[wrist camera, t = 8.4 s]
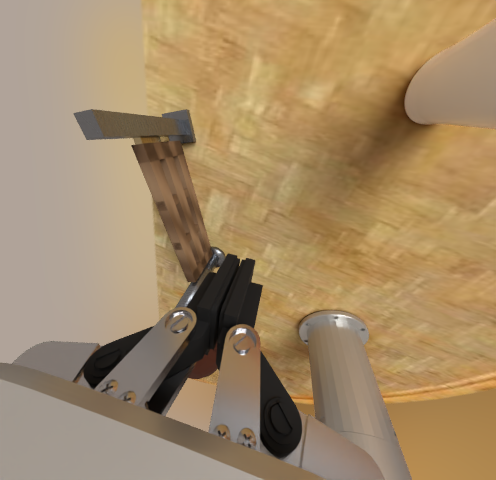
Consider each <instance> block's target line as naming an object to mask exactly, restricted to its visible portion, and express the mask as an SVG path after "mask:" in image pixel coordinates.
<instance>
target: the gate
mask: <svg viewBox="0 0 496 480" xmlns="http://www.w3.org/2000/svg"><path fill="white" fill-rule="evenodd" d="M132 148H133V150H134V153H135V155H136V158H137V160H138V163H139V165H140V167H141V170H142V172H143V175H144V177H145V179H146V182H147V184H148V187H149V189H150V192H151V194H152V197H153V199H154V201H155V204H156V206H157V209H158V211H159V214H160V216H161V218H162V221H163V223H164V226H165V228H166V231H167V233H168V235H169V238H170V240H171V243H172V245H173V247H174V250H175V252H176V255H177V257H178V260H179V262H180V264H181V267H182V269H183V272H184V274H185V277H186V279H187V281H188V282H196V281H197V279H198V278H199V276H200V274H201V273H202V271H203V270H204V268H205V266H206V265H207V263H208V261H209V260H210V258H211V256H212V255H213V253H212V250H211V246H210V243H209V239H208V236H207V232H206V229H205V225H204V222H203V218H202V215H201V211H200V208H199V205H198V201H197V198H196V194H195V191H194V187H193V184H192V180H191V177H190V173H189V170H188V166H187V163H186V159H185V156H184V152H183V149H182V145H181V142H180V140H179V141H167V142H155V143H143V144H137V145H132Z"/></svg>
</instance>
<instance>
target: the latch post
mask: <svg viewBox="0 0 496 480" xmlns="http://www.w3.org/2000/svg"><path fill="white" fill-rule="evenodd" d="M74 115H75V117H76V119H77V122H78V124H79V125H80V127H81V129H82V131H83V133H84V135H85V137H86V139H87V140H95V139H118V138H133V139H134V142H135V144H136V145H137V144H143V143H155V142H161V140H160V137H168V136H169V140H170V141H179V140H180V142H181V143H188V142H195V141H196V138H195V134H194V130H193V126H192V121H191V117H190V113H189V110H181V111H176V112H171V113H165V114H162V116H163V117H154V116H146V115H137V114H128V113H119V112H110V111H102V110H93V109H91V110H86V111H82V112H77V113H74Z"/></svg>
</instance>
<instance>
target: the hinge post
mask: <svg viewBox="0 0 496 480" xmlns="http://www.w3.org/2000/svg"><path fill="white" fill-rule="evenodd" d="M211 250H212V253H213V255H212V256H211V258H210V260H209V261H208V263H207V265H206V266H205V268H204V270H203V271H202V273H201V274H200V276H199V278H198V279H197V281H196V282H191V284H190V285H189V287H188V288H187V290H186V291H185V293H184V295H183V296H182V298H181V299H180V301H179V302H178V304H177V306H176V307H175V308H179V307H186V306H187V305H188V303H189V302H190V300H191V299H192V297H193V296H194V294H195V293H196V291H197V289H198V288H199V286H200V285H201V283H202V282H203V280H204V279H205V277H206V276H207V274H208V273H209V272H213V270H214V269H215V267H220V266H221V264H222V263H223V261H224V259H225V254H224V253H223V251H222V250H220V249H219V248H217V247H211Z"/></svg>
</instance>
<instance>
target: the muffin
mask: <svg viewBox="0 0 496 480" xmlns="http://www.w3.org/2000/svg"><path fill="white" fill-rule="evenodd" d="M216 353H217V343H216V346H215V348H214V350H213V349H210V351H209V353H208V355H205V354H204V357H203V359H201V360H199V361H197V362H196V364H195V366H194V368H193V370H192V372H191V373H190V375H189V377H188V378H192V379H200V378H203V377H207V376H209V375H211V374H212V373H214V372H215V371H216V370H217V369H218V367H217V365H216Z"/></svg>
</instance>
